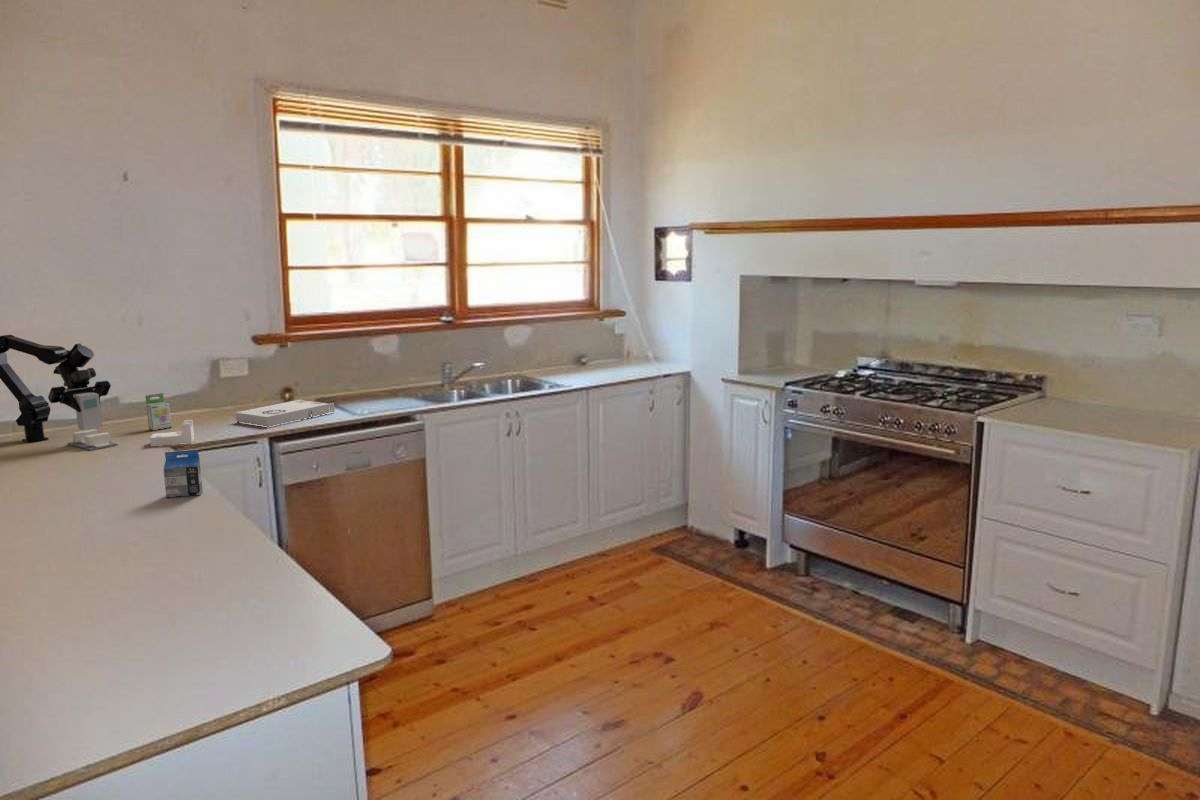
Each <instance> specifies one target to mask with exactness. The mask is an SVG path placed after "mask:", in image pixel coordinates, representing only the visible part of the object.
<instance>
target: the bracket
mask: <svg viewBox="0 0 1200 800" xmlns="http://www.w3.org/2000/svg"><path fill="white" fill-rule="evenodd" d="M181 428H182V431H174V432H173V431H171V432H158V433H152V434H151V436H149V442H150V447H151V446H159V447H162V446H161V445H171V446H174V445H173V444H180V443H192V441H193V442H194V439H195V431H194V421H193V419H185V420H183V423H181ZM192 444H193V443H192Z"/></svg>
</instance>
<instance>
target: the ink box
mask: <svg viewBox="0 0 1200 800" xmlns="http://www.w3.org/2000/svg"><path fill="white" fill-rule="evenodd" d="M154 397H158V398H156V399H155V398H154ZM152 398H154V399H152ZM145 405H146V413H147V423H148V424H147V425H148V429H150V431H152V430H156V431H159V430H158V429H162V430H165V429H164V428H167V429H170V428H169V427H172V426H173V425H172V418H171V417H172V416H171V410H170V409H171V407H170V402H166V401H165V400H164V393H163V392H162V393H155V394H154V393H153V394H147V395H145ZM172 428H173V427H172Z"/></svg>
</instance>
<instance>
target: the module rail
mask: <svg viewBox="0 0 1200 800" xmlns="http://www.w3.org/2000/svg"><path fill="white" fill-rule="evenodd" d="M71 434H72V440H73V441H71V442H67V445H68V444H70V445H69V446H72V445H73V446H72V447H75V446H76V448H79V447H80V448H79V449H82V448H83V449H82V450H87V451H89V450H90V451H89V452H91V450H92V451H96V449H97V450H101V448H102V449H106V448H105V447H108V448H111V447H110V446H113V447H116V446H115V445H119V444H118V443H115V442H112V436H111V433H109V432H107V431H106V432H99V433H98V429H96V428H95V429H90V430H81V431H80V430H79V431H75V432H72V433H71Z"/></svg>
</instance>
